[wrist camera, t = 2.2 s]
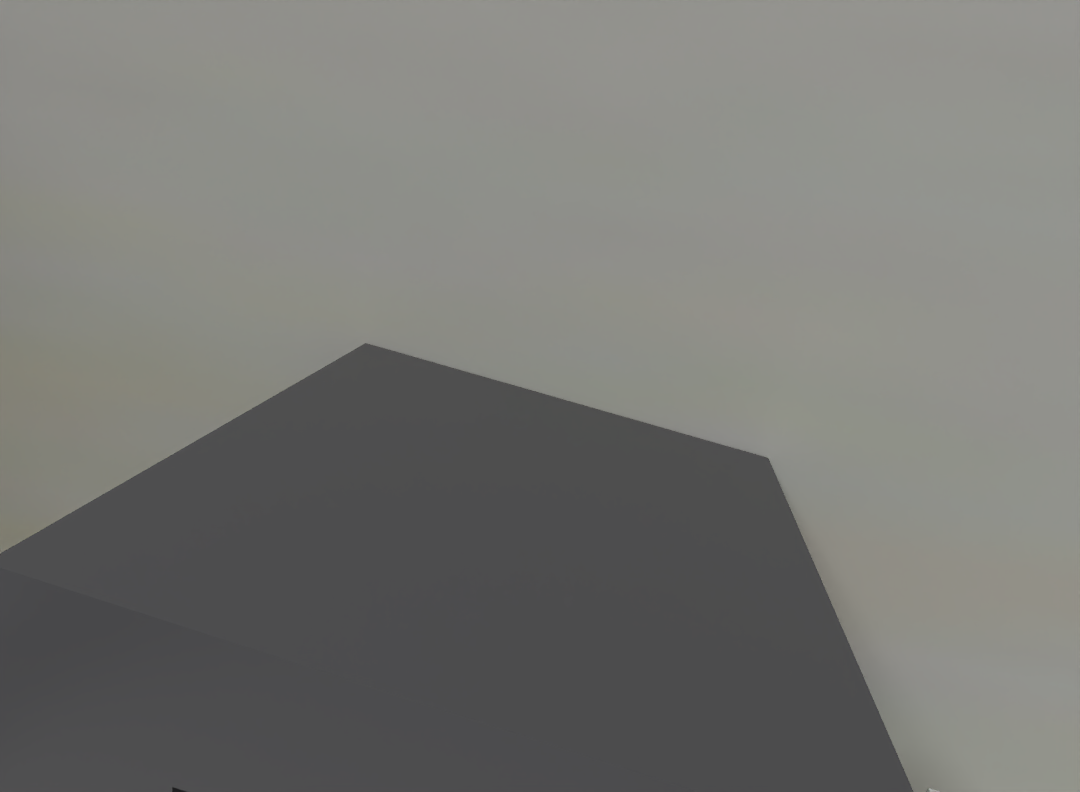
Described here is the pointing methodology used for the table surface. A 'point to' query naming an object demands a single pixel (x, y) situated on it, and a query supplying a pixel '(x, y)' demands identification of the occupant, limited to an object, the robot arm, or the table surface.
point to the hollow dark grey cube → (432, 609)
